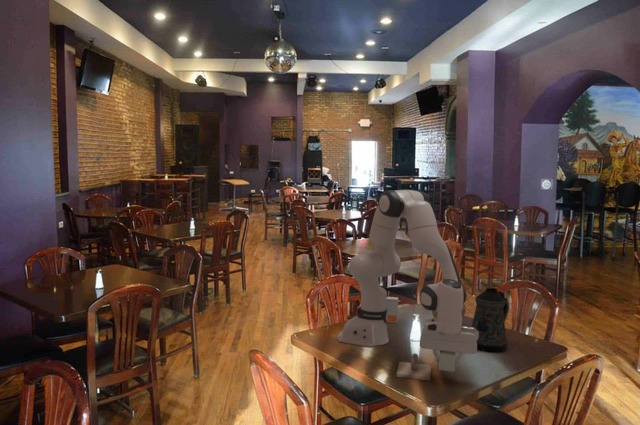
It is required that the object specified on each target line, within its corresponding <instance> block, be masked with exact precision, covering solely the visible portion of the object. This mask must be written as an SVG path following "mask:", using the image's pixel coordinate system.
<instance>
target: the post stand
mask: <svg viewBox="0 0 640 425" xmlns="http://www.w3.org/2000/svg"><path fill="white" fill-rule="evenodd" d="M410 358H411V360H410V361H411V362H407V361H406V362H405V361H399V363H398V365H397V370H396V377H398V378H406V379H414V380H424V381H431V373H432V372H431V371H432V365H431V364H426V363H425V364H424V363H419V355H418V353H415V352H414V353H412V355H411V357H410Z"/></svg>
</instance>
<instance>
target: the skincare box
mask: <svg viewBox="0 0 640 425" xmlns="http://www.w3.org/2000/svg"><path fill="white" fill-rule="evenodd" d="M398 307H399V297H398V296H397V297H396V296H395V297H394V296H387V304H386V309H387V322H386V323H391V324H398V313H399V312H398V311H399V308H398Z"/></svg>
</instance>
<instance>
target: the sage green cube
mask: <svg viewBox="0 0 640 425" xmlns="http://www.w3.org/2000/svg"><path fill="white" fill-rule="evenodd" d="M439 356H440V359H439V362H438V370H439V371H444V372H445V371H446V372H455V367H456V364H455V358H456V352H450V351H442V350H439Z"/></svg>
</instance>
